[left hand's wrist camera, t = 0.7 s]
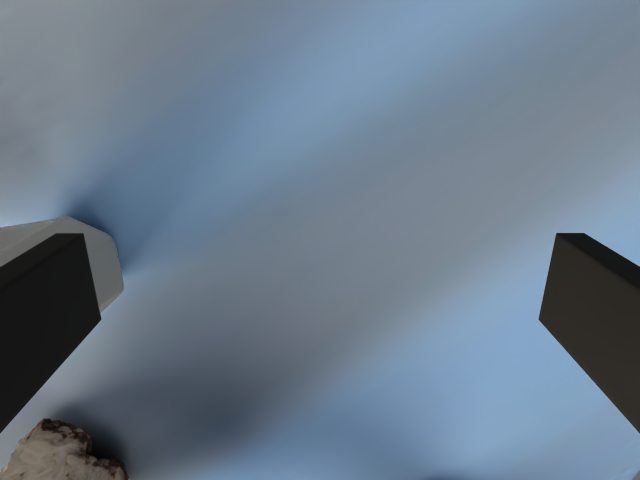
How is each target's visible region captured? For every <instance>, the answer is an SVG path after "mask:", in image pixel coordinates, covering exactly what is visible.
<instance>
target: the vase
mask: <svg viewBox="0 0 640 480" xmlns="http://www.w3.org/2000/svg"><path fill="white" fill-rule="evenodd" d="M55 233H84V237H85V242H86V247H87V252H88V257H89V262H90V267H91V271H92V276H93V281H94V286H95V291H96V296H97V301H98V305H99V310H100V313H101V312H102V311H103V310H104V309H105V308H106V307H107V306H108V305H110V304H111V303H112V302H113V301H114V300H115V299H116V298H117V297H118V296H119V295H120V294H121V293H122V291H123V290H124V284H123V278H122V273H121V268H120V263H119V258H118V253H117V248H116V243H115V241H114V240H113V238H112V237H111V236H110V235H109V234H107V233H105V232H103V231H101V230H98V229H96V228H94V227H92V226H89V225H87V224H85V223H82V222H80V221H78V220H76V219H73V218H71V217H69V216H66V215H65V216H63V217H61V218H58V219H52V220H46V221H39V222H33V223H27V224H20V225H14V226H7V227H1V228H0V267H1V266H2V265H4V264H6V263H7V262H9V261H11V260H12V259H14V258H16V257H17V256H19V255H21V254H22V253H24V252H26V251H27V250H29V249H31V248H32V247H34V246H36V245H37V244H39V243H41V242H42V241H44V240H46V239H47V238H49V237H50V236H52V235H54V234H55Z"/></svg>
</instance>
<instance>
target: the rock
mask: <svg viewBox="0 0 640 480" xmlns="http://www.w3.org/2000/svg"><path fill="white" fill-rule="evenodd" d="M92 455H93V449H92V438H91V437H90V436H89V435H88V434H87V433H85V432H83V430H82V429H79V428H76V427H75V426H73V425H71V424H70V423H69V424H67V423H65V422H61V421H60V420H58V421H51V420H50V419H43V420H42V421H41V422H39V423H38V424H37V426H36V427H35V428H34V429H33V430H32V431H31V432H30V433H29V434H27V435H26V436H25V437H24V438H23V439H20V441H19V443H18V444H17V445H16V450H15V452H13V453H12V455H11V459H10V462H9V464H8V465H7V466H6V467H5V468H3V469H2V471H1V472H0V480H131V479H130V477H129V476H128V475H127V472H126V470H125V465H124V463H123V462H122V463H117V462H116V459H113V458H111V459H99V460H97V459H96V458H95V457H93V456H92Z"/></svg>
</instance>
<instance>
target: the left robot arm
mask: <svg viewBox="0 0 640 480" xmlns="http://www.w3.org/2000/svg"><path fill="white" fill-rule="evenodd" d="M100 320H101V315H100V310H99V305H98V301H97V296H96V291H95V286H94V281H93V276H92V271H91V267H90V262H89V257H88V252H87V247H86V242H85V237H84V233H55V234H54V235H52V236H50V237H49V238H47V239H46V240H44V241H42V242H41V243H39V244H37V245H36V246H34V247H32V248H31V249H29V250H27V251H26V252H24V253H22V254H21V255H19V256H17V257H16V258H14V259H12V260H11V261H9V262H7V263H6V264H4V265H2V266H1V267H0V433H1V432H2V431H3V430H4V428H5V427H6V426H7V425H8V424H9V423H10V422H11V421H12V419H13V418H14V417H15V416H16V415H17V414H18V413H19V412H20V410H21V409H22V408H23V407H24V406H25V405H26V404H27V403H28V401H29V400H30V399H31V398H32V397H33V396H34V395H35V394H36V392H37V391H38V390H39V389H40V388H41V387H42V386H43V385H44V383H45V382H46V381H47V380H48V379H49V378H50V377H51V376H52V374H53V373H54V372H55V371H56V370H57V369H58V368H59V367H60V365H61V364H62V363H63V362H64V361H65V360H66V359H67V358H68V356H69V355H70V354H71V353H72V352H73V351H74V350H75V349H76V347H77V346H78V345H79V344H80V343H81V342H82V341H83V340H84V338H85V337H86V336H87V335H88V334H89V333H90V332H91V331H92V329H93V328H94V327H95V326H96V325H97V324H98V323H99V322H100ZM539 320H540V322H541V323H542V324H543V325H544V326H545V327H546V328H547V329H548V331H549V332H550V333H551V334H552V335H553V336H554V337H555V338H556V340H557V341H558V342H559V343H560V344H561V345H562V346H563V347H564V349H565V350H566V351H567V352H568V353H569V354H570V355H571V356H572V358H573V359H574V360H575V361H576V362H577V363H578V364H579V365H580V367H581V368H582V369H583V370H584V371H585V372H586V373H587V374H588V376H589V377H590V378H591V379H592V380H593V381H594V382H595V383H596V385H597V386H598V387H599V388H600V389H601V390H602V391H603V392H604V394H605V395H606V396H607V397H608V398H609V399H610V400H611V401H612V403H613V404H614V405H615V406H616V407H617V408H618V409H619V410H620V412H621V413H622V414H623V415H624V416H625V417H626V418H627V419H628V421H629V422H630V423H631V424H632V425H633V426H634V427H635V428H636V430H637V431H638V432H639V433H640V267H639V266H638V265H636V264H634V263H633V262H631V261H629V260H628V259H626V258H624V257H623V256H621V255H619V254H618V253H616V252H614V251H613V250H611V249H609V248H608V247H606V246H604V245H603V244H601V243H599V242H598V241H596V240H594V239H593V238H591V237H590V236H588V235H586V234H585V233H556V237H555V242H554V247H553V252H552V257H551V262H550V267H549V271H548V276H547V281H546V286H545V291H544V296H543V301H542V305H541V310H540V315H539Z"/></svg>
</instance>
